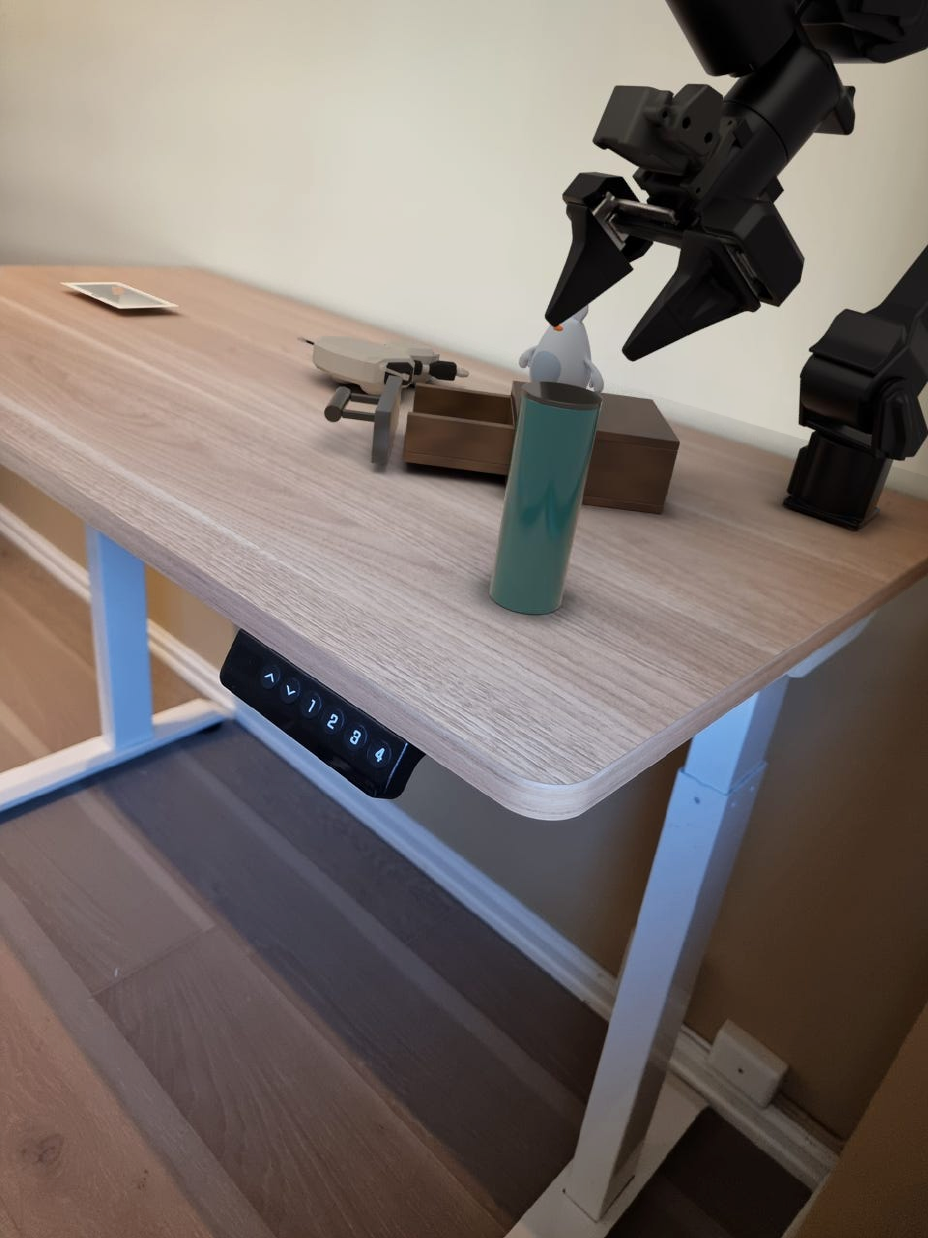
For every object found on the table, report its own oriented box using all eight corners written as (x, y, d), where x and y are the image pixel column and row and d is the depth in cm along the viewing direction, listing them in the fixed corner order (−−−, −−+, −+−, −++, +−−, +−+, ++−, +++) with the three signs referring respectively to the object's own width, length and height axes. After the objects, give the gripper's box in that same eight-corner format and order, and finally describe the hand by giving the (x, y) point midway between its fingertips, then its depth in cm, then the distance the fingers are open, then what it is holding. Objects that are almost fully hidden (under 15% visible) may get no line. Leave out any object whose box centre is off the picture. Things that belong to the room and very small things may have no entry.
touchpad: (119, 290, 118) (118, 273, 117) (179, 315, 110) (179, 297, 108) (60, 291, 113) (59, 273, 112) (119, 317, 104) (118, 298, 103)
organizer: (505, 493, 69) (517, 419, 66) (502, 445, 80) (512, 380, 77) (662, 514, 70) (680, 441, 67) (637, 463, 80) (652, 399, 78)
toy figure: (493, 406, 91) (511, 283, 86) (531, 400, 95) (550, 283, 90) (574, 436, 85) (600, 307, 80) (611, 428, 90) (637, 305, 84)
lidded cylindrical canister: (574, 600, 54) (618, 398, 48) (533, 622, 51) (574, 408, 45) (517, 574, 56) (551, 377, 50) (474, 593, 53) (506, 386, 47)
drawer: (316, 455, 68) (319, 402, 66) (337, 416, 78) (340, 368, 76) (516, 482, 69) (524, 429, 67) (511, 439, 79) (519, 392, 77)
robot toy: (391, 372, 101) (288, 374, 90) (397, 331, 100) (292, 329, 89) (472, 401, 95) (371, 407, 84) (480, 358, 93) (378, 359, 82)
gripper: (597, 31, 57) (443, 227, 59) (808, 21, 43) (597, 280, 45) (680, 163, 64) (540, 335, 66) (885, 192, 50) (700, 410, 52)
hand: (585, 338), depth 57 cm, fingers open, 9 cm apart
